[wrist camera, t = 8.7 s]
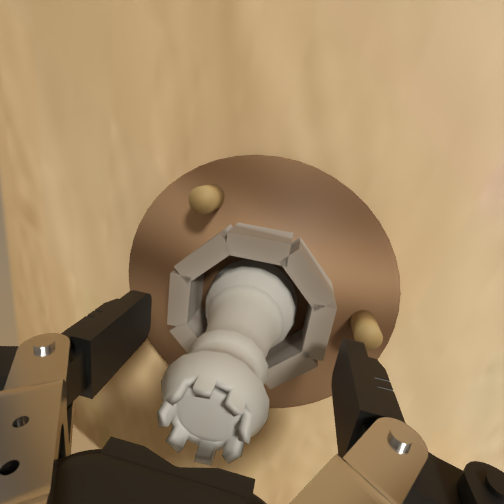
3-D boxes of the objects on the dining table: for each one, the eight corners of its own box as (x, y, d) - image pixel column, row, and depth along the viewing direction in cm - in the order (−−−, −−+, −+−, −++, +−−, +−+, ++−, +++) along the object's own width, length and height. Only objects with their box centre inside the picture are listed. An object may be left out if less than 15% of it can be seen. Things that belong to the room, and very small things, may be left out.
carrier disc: (144, 136, 15) (103, 129, 12) (432, 180, 13) (469, 186, 10) (137, 361, 20) (106, 398, 16) (354, 417, 18) (363, 469, 15)
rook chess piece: (314, 315, 15) (321, 470, 7) (240, 347, 16) (183, 506, 9) (269, 239, 14) (228, 325, 7) (196, 279, 16) (92, 388, 8)
